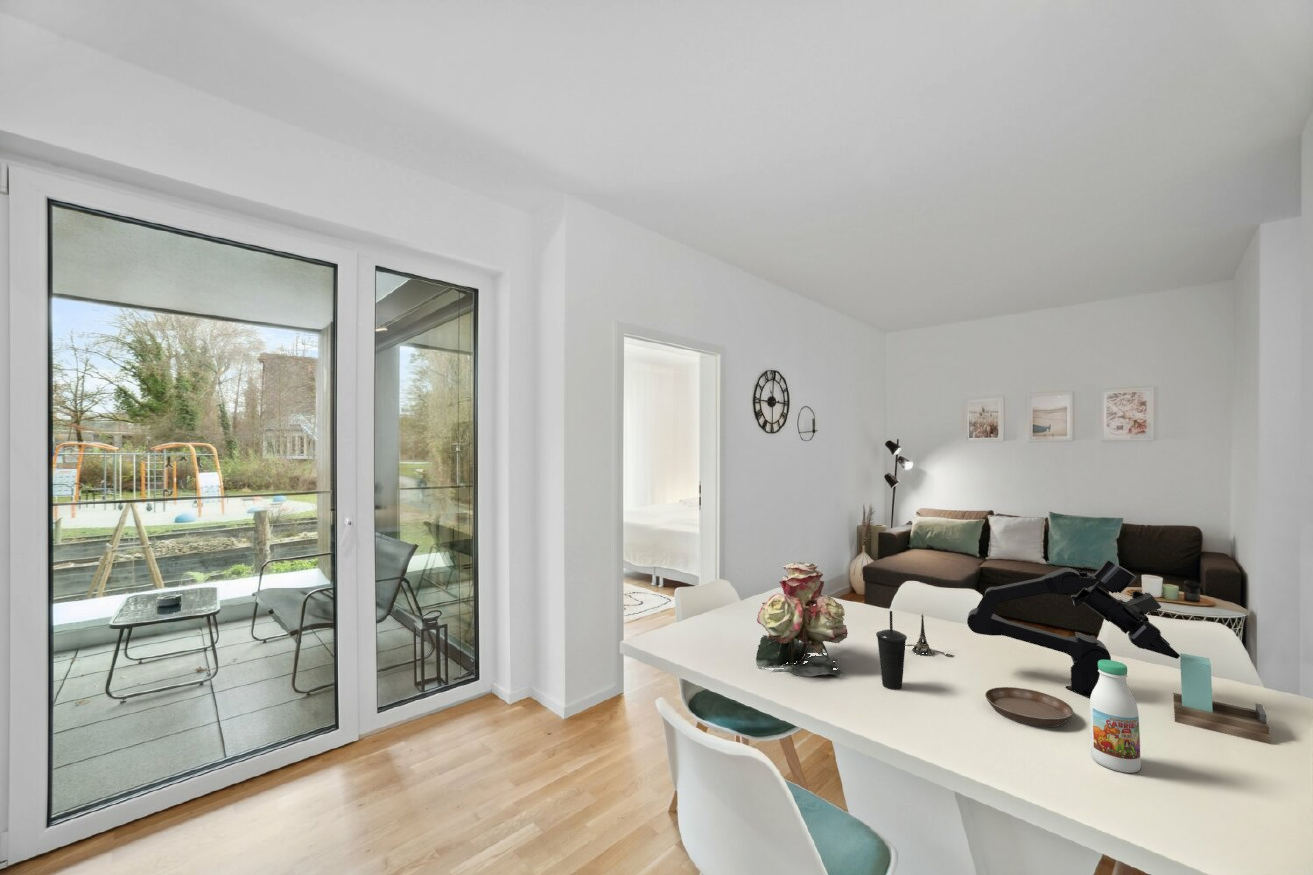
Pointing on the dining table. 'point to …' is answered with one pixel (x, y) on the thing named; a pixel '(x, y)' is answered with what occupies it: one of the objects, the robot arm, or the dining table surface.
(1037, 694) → the plant saucer
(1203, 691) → the block
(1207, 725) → the chute
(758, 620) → the rose bouquet
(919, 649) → the eiffel tower figurine
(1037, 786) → the dining table surface
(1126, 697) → the milk bottle
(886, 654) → the drinking cup
